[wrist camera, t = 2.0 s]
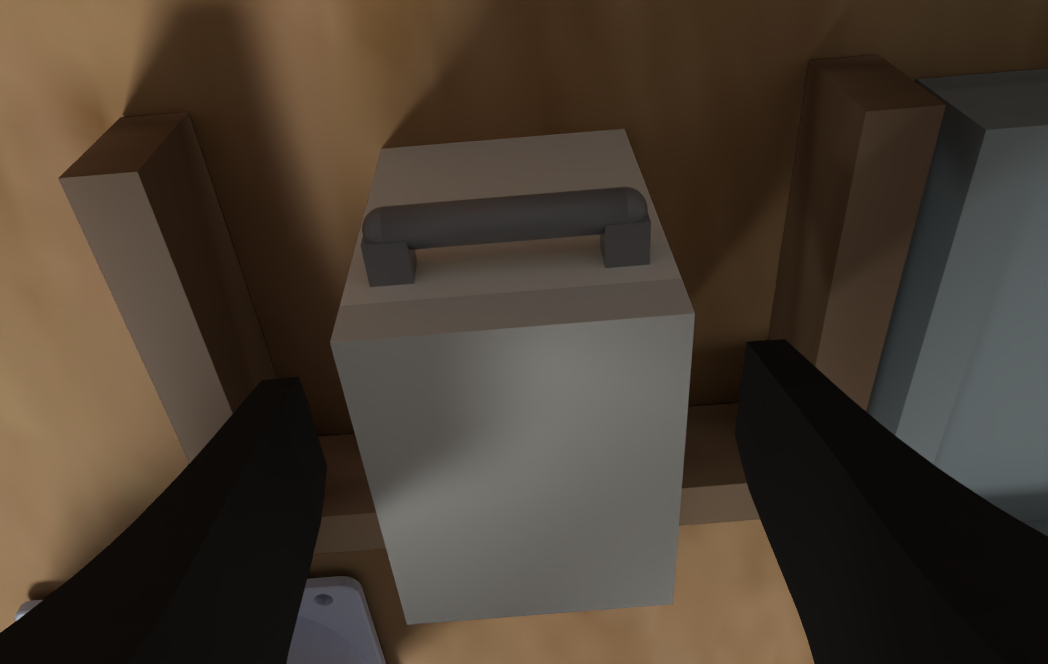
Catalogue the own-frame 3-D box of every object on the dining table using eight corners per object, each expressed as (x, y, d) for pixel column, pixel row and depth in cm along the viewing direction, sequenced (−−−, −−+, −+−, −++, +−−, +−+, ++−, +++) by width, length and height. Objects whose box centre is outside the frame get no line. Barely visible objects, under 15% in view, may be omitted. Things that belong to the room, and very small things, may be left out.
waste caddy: (427, 392, 18) (406, 625, 13) (372, 94, 14) (311, 274, 9) (621, 376, 18) (673, 603, 13) (624, 73, 14) (700, 242, 9)
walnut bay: (260, 476, 19) (234, 560, 17) (121, 117, 14) (58, 178, 12) (802, 433, 19) (840, 512, 17) (877, 54, 14) (946, 105, 12)
